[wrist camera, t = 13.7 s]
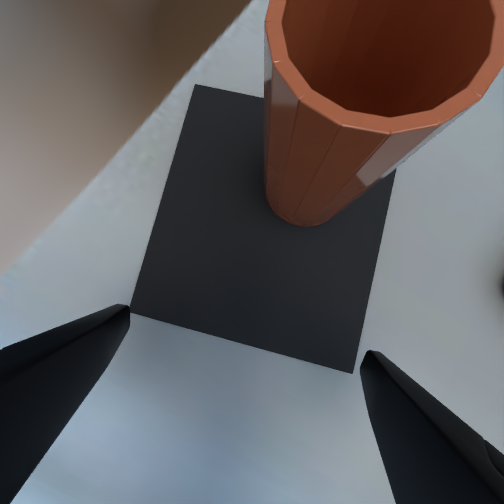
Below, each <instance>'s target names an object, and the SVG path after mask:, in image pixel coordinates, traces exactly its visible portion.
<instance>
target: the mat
mask: <svg viewBox="0 0 504 504" xmlns="http://www.w3.org/2000/svg"><path fill="white" fill-rule="evenodd" d="M263 170H264V98H260V97H255V96H250V95H246V94H241V93H236V92H231V91H226V90H222V89H217V88H212V87H207V86H202V85H197V84H195V86H194V90H193V93H192V96H191V100H190V103H189V107H188V110H187V114H186V117H185V120H184V124H183V127H182V131H181V134H180V137H179V141H178V144H177V148H176V151H175V154H174V158H173V161H172V165H171V168H170V171H169V175H168V178H167V182H166V185H165V188H164V192H163V195H162V199H161V202H160V206H159V209H158V212H157V216H156V219H155V223H154V226H153V229H152V233H151V236H150V240H149V243H148V246H147V250H146V253H145V257H144V260H143V263H142V267H141V270H140V274H139V277H138V280H137V284H136V287H135V291H134V294H133V298H132V301H131V304H130V313H134V314H138V315H141V316H145V317H148V318H152V319H156V320H159V321H163V322H166V323H170V324H174V325H177V326H181V327H185V328H188V329H192V330H195V331H199V332H203V333H206V334H210V335H213V336H217V337H221V338H224V339H228V340H231V341H235V342H239V343H242V344H246V345H249V346H253V347H257V348H260V349H264V350H268V351H271V352H275V353H278V354H282V355H286V356H289V357H293V358H296V359H300V360H304V361H307V362H311V363H314V364H318V365H322V366H325V367H329V368H332V369H336V370H340V371H343V372H347V373H351V374H353V370H354V365H355V361H356V356H357V351H358V347H359V342H360V337H361V332H362V328H363V323H364V318H365V314H366V309H367V304H368V300H369V295H370V290H371V285H372V281H373V276H374V271H375V267H376V262H377V257H378V253H379V248H380V243H381V239H382V234H383V229H384V224H385V220H386V215H387V210H388V206H389V201H390V196H391V192H392V187H393V182H394V177H395V173H396V168H395V169H394V170H393V171H392V172H390V173H389V174H388V175H387V176H385V177H384V178H383V179H382V180H381V181H379V182H378V183H377V184H376V185H374V186H373V187H372V188H371V189H369V190H368V191H367V192H366V193H364V194H363V195H362V196H361V197H359V198H358V199H357V200H356V201H355V202H353V203H352V204H351V205H350V206H348V207H347V208H346V209H345V210H343V211H342V212H341V213H340V214H338V215H336V216H335V217H334V218H332V219H331V220H329V221H328V222H326V223H323V224H321V225H317V226H312V227H301V226H296V225H292V224H290V223H288V222H286V221H284V220H282V219H281V218H280V217H278V216H277V215H276V214H275V213H274V212H273V210H272V209H271V207H270V206H269V204H268V202H267V199H266V196H265V191H264V183H263Z"/></svg>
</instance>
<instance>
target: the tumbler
mask: <svg viewBox="0 0 504 504" xmlns="http://www.w3.org/2000/svg"><path fill="white" fill-rule="evenodd" d="M503 66H504V0H270V1H269V5H268V9H267V14H266V18H265V25H264V170H263V183H264V191H265V196H266V199H267V202H268V204H269V206H270V207H271V209H272V210H273V212H274V213H275V214H276V215H277V216H278V217H280V218H281V219H282V220H284V221H286V222H288V223H290V224H292V225H296V226H301V227H312V226H317V225H321V224H323V223H326V222H328V221H329V220H331V219H332V218H334V217H335V216H336V215H338V214H340V213H341V212H342V211H343V210H345V209H346V208H347V207H348V206H350V205H351V204H352V203H353V202H355V201H356V200H357V199H358V198H359V197H361V196H362V195H363V194H364V193H366V192H367V191H368V190H369V189H371V188H372V187H373V186H374V185H376V184H377V183H378V182H379V181H381V180H382V179H383V178H384V177H385V176H387V175H388V174H389V173H390V172H392V171H393V170H394V169H395V168H397V167H398V166H399V165H400V164H402V163H403V162H404V161H405V160H407V159H408V158H409V157H410V156H412V155H413V154H414V153H415V152H416V151H418V150H419V149H420V148H421V147H423V146H424V145H425V144H426V143H428V142H429V141H430V140H431V139H433V138H434V137H435V136H436V135H438V134H439V133H440V132H441V131H442V130H444V129H445V128H446V127H447V126H449V125H450V124H451V123H452V122H454V121H455V120H456V119H457V118H459V117H460V116H461V115H462V114H464V113H465V112H466V111H467V110H469V109H470V108H471V107H472V106H473V105H475V104H476V103H477V102H478V101H479V100H480V99H482V97H483V96H484V94H485V93H486V91H487V90H488V88H489V87H490V85H491V84H492V82H493V81H494V79H495V78H496V76H497V75H498V73H499V72H500V70H501V69H502V67H503Z"/></svg>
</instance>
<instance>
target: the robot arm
mask: <svg viewBox="0 0 504 504" xmlns="http://www.w3.org/2000/svg"><path fill="white" fill-rule="evenodd" d="M129 328H130V307H129V306H128V305H123V304H116V305H113V306H111V307H108V308H105V309H103V310H100V311H98V312H95V313H93V314H90V315H87V316H85V317H82V318H80V319H77V320H74V321H72V322H69V323H67V324H64V325H61V326H59V327H56V328H54V329H51V330H48V331H46V332H43V333H41V334H38V335H35V336H33V337H30V338H28V339H25V340H22V341H20V342H17V343H15V344H12V345H9V346H7V347H4V348H2V350H0V504H10V503H11V502H12V500H13V499H14V497H15V496H16V494H17V493H18V492H19V490H20V489H21V487H22V486H23V485H24V483H25V482H26V480H27V479H28V478H29V476H30V475H31V473H32V472H33V471H34V469H35V468H36V466H37V465H38V464H39V462H40V461H41V459H42V458H43V457H44V455H45V454H46V452H47V451H48V450H49V448H50V447H51V445H52V444H53V443H54V441H55V440H56V438H57V437H58V436H59V434H60V433H61V431H62V430H63V429H64V427H65V426H66V424H67V423H68V422H69V420H70V419H71V417H72V416H73V415H74V413H75V412H76V410H77V409H78V408H79V406H80V405H81V403H82V402H83V401H84V399H85V398H86V396H87V395H88V394H89V392H90V391H91V389H92V388H93V387H94V385H95V384H96V382H97V381H98V380H99V378H100V377H101V375H102V374H103V372H104V371H105V370H106V368H107V367H108V365H109V363H110V362H111V360H112V358H113V356H114V355H115V353H116V351H117V349H118V348H119V346H120V344H121V342H122V341H123V339H124V337H125V335H126V334H127V332H128V330H129ZM360 376H361V381H362V386H363V391H364V396H365V400H366V405H367V410H368V414H369V418H370V421H371V425H372V428H373V431H374V435H375V438H376V441H377V444H378V447H379V451H380V454H381V457H382V460H383V464H384V467H385V470H386V473H387V476H388V480H389V483H390V486H391V489H392V493H393V496H394V499H395V502H396V504H504V455H503V454H502V453H501V452H500V451H498V450H497V449H496V448H495V447H494V446H493V445H491V444H490V443H489V442H488V441H486V440H484V439H483V437H482V436H480V435H479V434H478V433H477V432H476V431H474V430H473V429H472V428H471V427H470V426H468V425H467V424H466V423H465V422H464V421H462V420H461V419H460V418H459V417H458V416H456V415H455V414H454V413H453V412H452V411H450V410H449V409H448V408H447V407H446V406H444V405H443V404H442V403H441V402H439V401H438V400H437V399H436V398H435V397H433V396H432V395H431V394H430V393H429V392H427V391H426V390H425V389H424V388H423V387H421V386H420V385H419V384H418V383H417V382H415V381H414V380H413V379H412V378H411V377H409V376H408V375H407V374H406V373H405V372H403V371H402V370H401V369H400V368H399V367H397V366H396V365H395V364H394V363H393V362H391V361H390V360H389V359H388V358H387V357H385V356H384V355H383V354H382V353H380V352H378V351H372V350H368V351H367V352H366V354H365V356H364V359H363V361H362V363H361V366H360Z"/></svg>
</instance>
